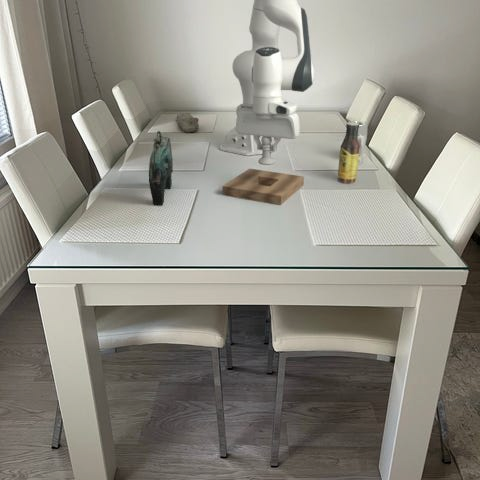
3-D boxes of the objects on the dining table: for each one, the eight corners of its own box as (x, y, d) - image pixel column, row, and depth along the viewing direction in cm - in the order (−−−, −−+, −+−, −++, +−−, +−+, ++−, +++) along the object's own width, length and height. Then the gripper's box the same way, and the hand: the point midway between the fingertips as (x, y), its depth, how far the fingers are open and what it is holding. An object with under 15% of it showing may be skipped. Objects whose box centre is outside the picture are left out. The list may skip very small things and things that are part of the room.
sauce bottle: (335, 178, 171) (340, 120, 163) (352, 177, 172) (358, 120, 163) (340, 184, 165) (345, 125, 157) (358, 184, 166) (364, 125, 157)
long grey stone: (193, 120, 262) (174, 122, 261) (192, 110, 260) (173, 112, 259) (202, 132, 231) (181, 134, 229) (201, 120, 229) (179, 122, 227)
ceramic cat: (159, 184, 167) (154, 125, 158) (178, 184, 167) (174, 125, 158) (147, 206, 149) (141, 141, 140) (168, 206, 149) (164, 141, 140)
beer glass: (364, 166, 184) (368, 125, 177) (345, 165, 185) (348, 125, 179) (363, 160, 190) (368, 121, 183) (345, 159, 191) (349, 120, 185)
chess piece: (272, 166, 154) (272, 137, 150) (256, 164, 156) (255, 136, 152) (276, 161, 159) (277, 133, 155) (261, 159, 160) (260, 132, 156)
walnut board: (222, 195, 157) (222, 186, 156) (249, 176, 173) (249, 168, 172) (280, 205, 149) (281, 195, 148) (303, 185, 165) (303, 176, 164)
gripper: (231, 105, 151) (232, 149, 157) (295, 109, 143) (293, 156, 149) (240, 101, 156) (241, 144, 162) (302, 105, 148) (300, 150, 154)
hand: (266, 150), depth 156 cm, fingers closed on chess piece, 3 cm apart
